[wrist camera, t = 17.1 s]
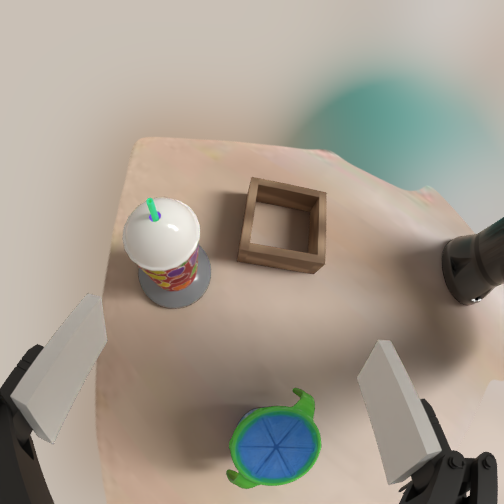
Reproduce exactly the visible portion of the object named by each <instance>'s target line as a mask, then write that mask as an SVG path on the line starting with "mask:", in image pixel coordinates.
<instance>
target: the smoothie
mask: <svg viewBox="0 0 504 504" xmlns="http://www.w3.org/2000/svg"><path fill="white" fill-rule="evenodd" d="M122 239H123V244H124V248H125V251H126V253H127V254H128V256H129V257H130V259H131V260H132V261H133V262H135V263H136V264H137V265H138V266H139V267H140V268H141V269H142V270H143V271H144V272H145V273H146V274H147V275H148V276H149V277H150V278H151V279H152V280H153V281H154V282H155V283H156V284H157V285H158V286H159V287H161V288H162V289H164V290H167V291H180V290H182V289H185V288H186V287H188V286H189V285H190V284H191V283H192V282H193V280H194V279H195V277H196V273H197V265H198V249H199V239H200V225H199V222H198V219H197V216H196V215H195V213H194V212H193V211H192V209H191V208H190V207H189V206H187V205H186V204H184V203H183V202H181V201H179V200H175V199H171V198H167V197H156V198H148V199H147V200H146V201H145V202H143V203H141V204H140V205H138V206H137V207H136V209H135V210H134V211H133V212H132V213H131V215H130V216H129V217H128V219H127V222H126V224H125V226H124V230H123V238H122Z"/></svg>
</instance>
